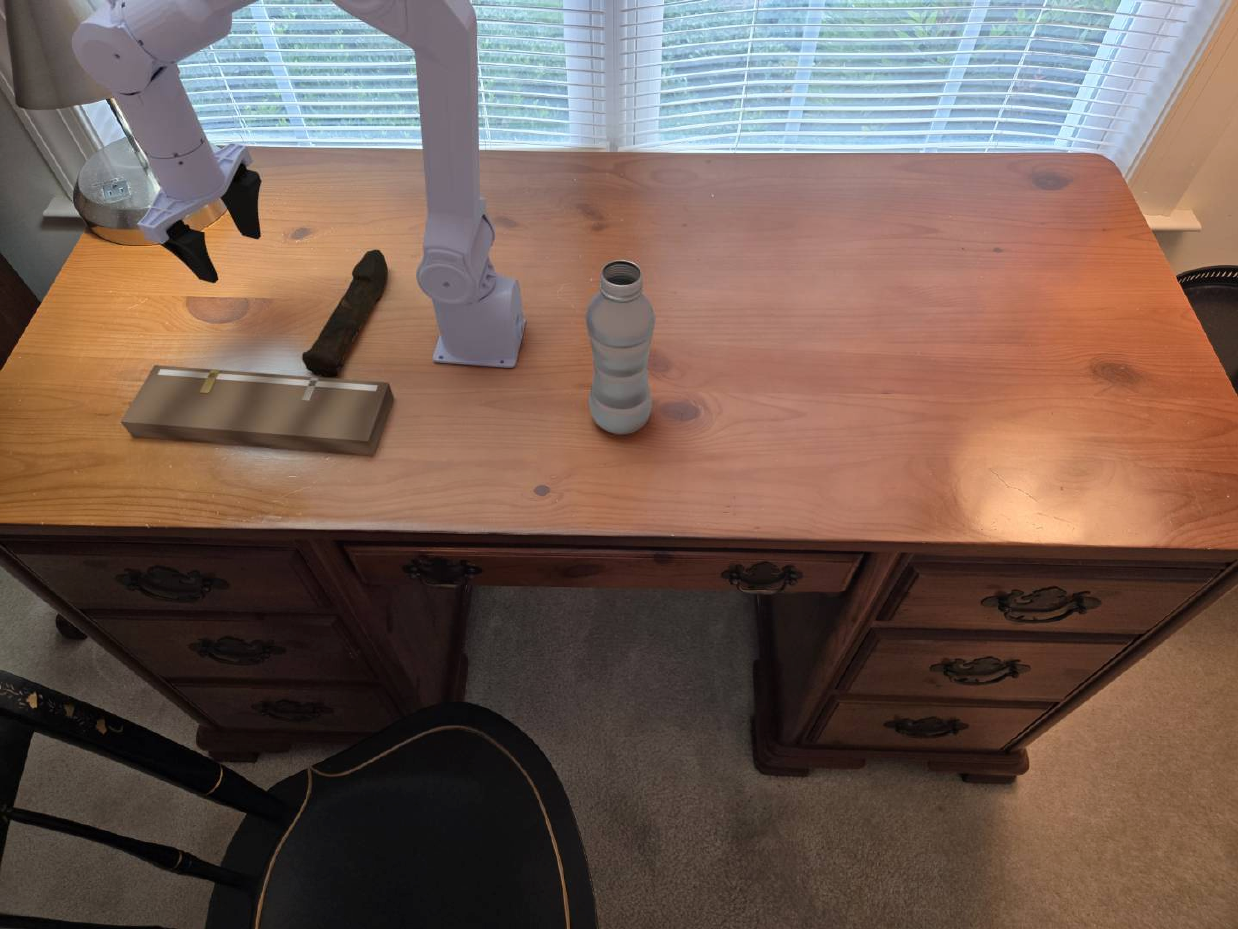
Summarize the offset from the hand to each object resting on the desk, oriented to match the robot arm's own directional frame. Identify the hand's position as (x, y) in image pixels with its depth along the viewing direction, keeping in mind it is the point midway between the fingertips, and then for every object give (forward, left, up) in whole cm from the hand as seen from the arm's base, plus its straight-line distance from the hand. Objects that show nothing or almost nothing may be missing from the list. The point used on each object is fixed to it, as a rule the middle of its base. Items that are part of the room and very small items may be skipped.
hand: (230, 257), depth 86 cm
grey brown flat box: (-5, +14, -10) cm, 18 cm away
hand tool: (-10, -2, -10) cm, 15 cm away
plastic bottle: (-43, +10, -10) cm, 46 cm away
